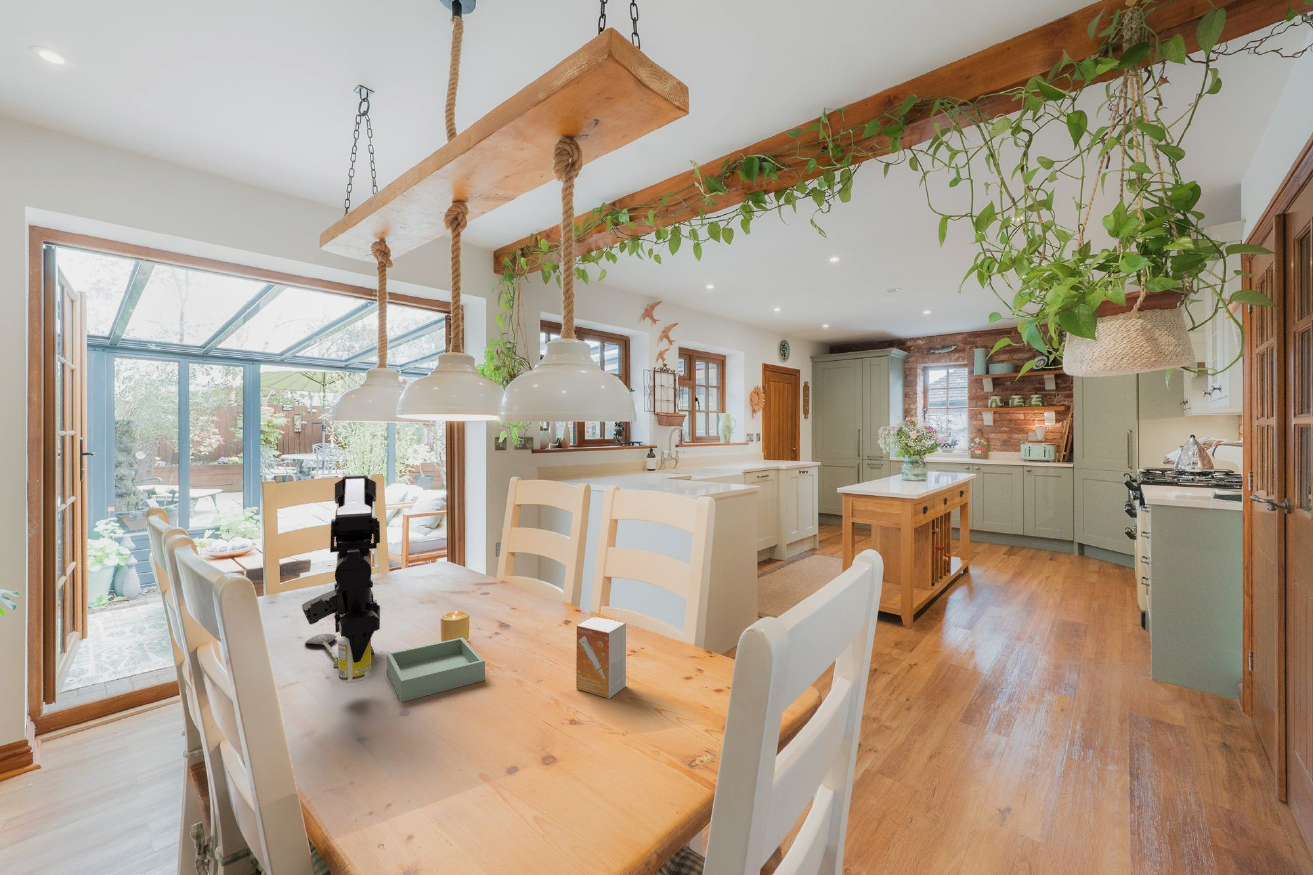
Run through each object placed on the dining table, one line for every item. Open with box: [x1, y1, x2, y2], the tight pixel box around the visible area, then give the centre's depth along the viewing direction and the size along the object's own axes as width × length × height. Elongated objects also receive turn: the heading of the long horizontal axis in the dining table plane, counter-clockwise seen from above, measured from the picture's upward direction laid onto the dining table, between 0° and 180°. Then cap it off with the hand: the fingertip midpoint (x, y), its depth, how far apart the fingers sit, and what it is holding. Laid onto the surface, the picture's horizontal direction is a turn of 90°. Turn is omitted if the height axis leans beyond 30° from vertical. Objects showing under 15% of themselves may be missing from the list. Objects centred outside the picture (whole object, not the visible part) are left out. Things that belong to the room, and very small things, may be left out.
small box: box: [575, 616, 627, 700], centre depth 110 cm, size 8×6×13 cm
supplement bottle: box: [337, 635, 372, 684], centre depth 106 cm, size 6×6×10 cm
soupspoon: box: [304, 633, 339, 668], centre depth 128 cm, size 22×3×7 cm
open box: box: [386, 637, 486, 703], centre depth 115 cm, size 16×16×4 cm
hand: (354, 656), depth 106 cm, fingers closed on supplement bottle, 5 cm apart
